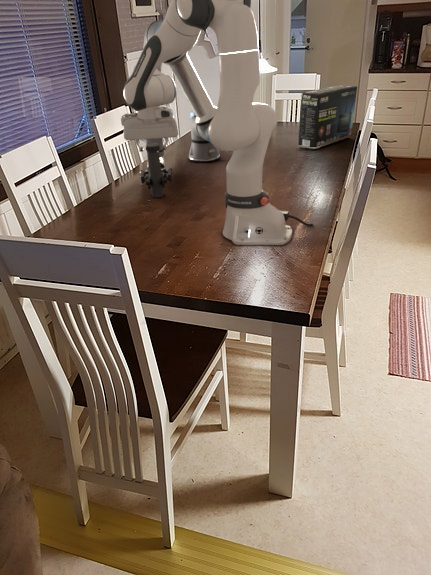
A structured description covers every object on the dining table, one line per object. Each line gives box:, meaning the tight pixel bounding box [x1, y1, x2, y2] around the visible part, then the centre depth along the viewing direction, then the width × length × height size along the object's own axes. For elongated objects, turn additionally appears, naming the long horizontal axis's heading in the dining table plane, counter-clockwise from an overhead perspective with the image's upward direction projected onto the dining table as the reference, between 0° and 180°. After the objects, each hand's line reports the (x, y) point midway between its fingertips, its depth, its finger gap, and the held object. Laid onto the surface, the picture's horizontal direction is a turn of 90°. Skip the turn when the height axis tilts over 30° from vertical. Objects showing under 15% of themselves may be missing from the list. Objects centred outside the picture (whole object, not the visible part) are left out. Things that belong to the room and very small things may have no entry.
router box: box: [297, 84, 358, 151], centre depth 238 cm, size 36×11×27 cm, turn 134°
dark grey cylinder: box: [146, 151, 164, 198], centre depth 179 cm, size 5×5×19 cm
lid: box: [145, 144, 160, 152], centre depth 174 cm, size 5×5×2 cm
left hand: (156, 185), depth 176 cm, fingers closed on dark grey cylinder, 5 cm apart
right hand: (152, 150), depth 174 cm, fingers open, 7 cm apart
